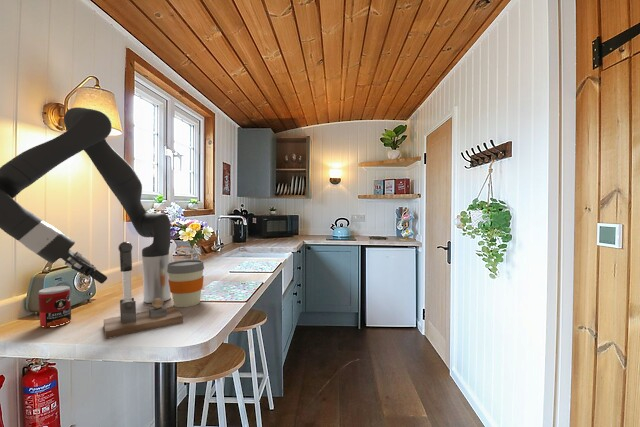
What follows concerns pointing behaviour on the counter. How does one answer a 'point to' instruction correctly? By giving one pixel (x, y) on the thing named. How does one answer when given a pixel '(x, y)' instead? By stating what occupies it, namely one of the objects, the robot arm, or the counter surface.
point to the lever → (126, 269)
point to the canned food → (54, 306)
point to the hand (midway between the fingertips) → (104, 280)
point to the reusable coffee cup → (186, 282)
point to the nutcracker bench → (141, 318)
